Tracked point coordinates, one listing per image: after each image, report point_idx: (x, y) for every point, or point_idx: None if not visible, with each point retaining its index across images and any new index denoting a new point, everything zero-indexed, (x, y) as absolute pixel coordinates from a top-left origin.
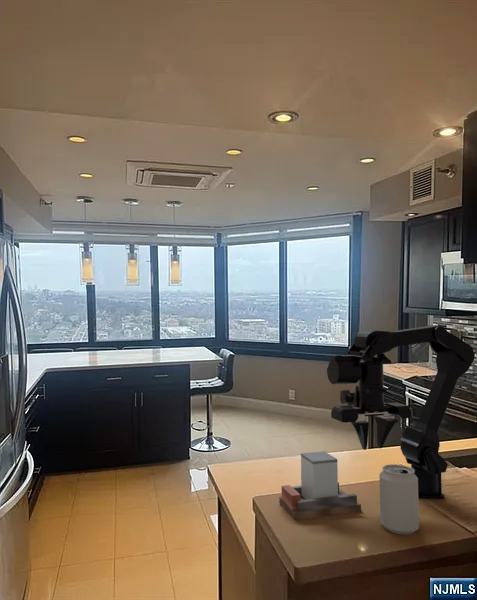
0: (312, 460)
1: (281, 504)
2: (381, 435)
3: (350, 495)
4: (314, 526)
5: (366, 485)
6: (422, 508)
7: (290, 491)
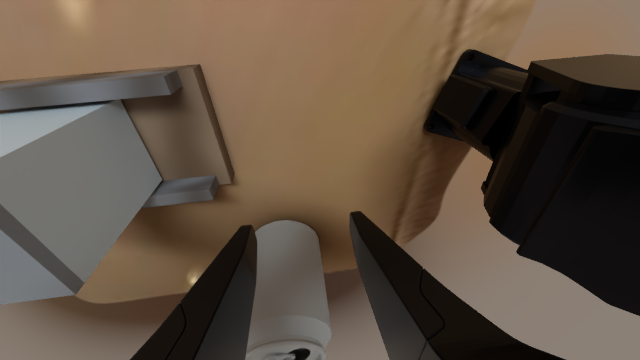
0: None
1: None
2: (377, 306)
3: (193, 197)
4: None
5: None
6: (385, 179)
7: None
